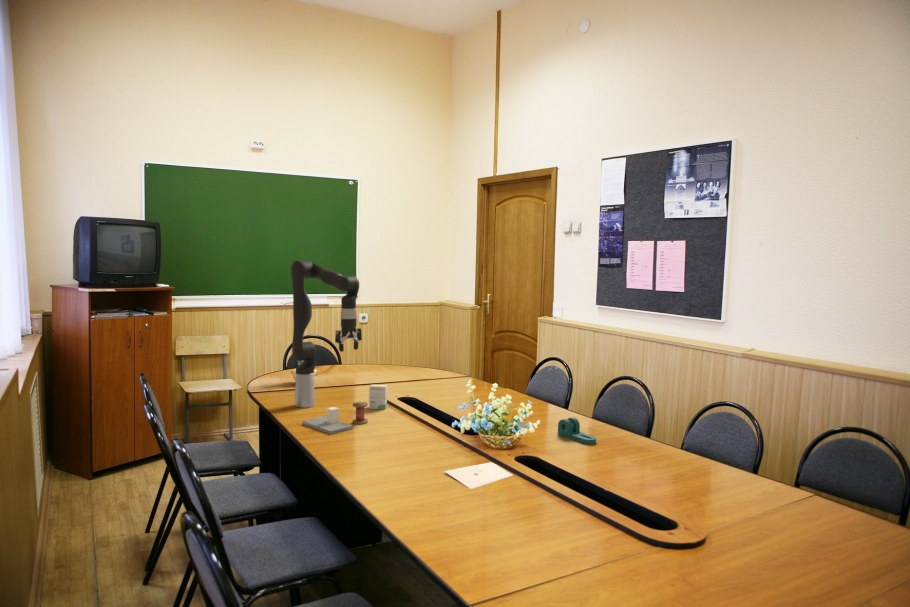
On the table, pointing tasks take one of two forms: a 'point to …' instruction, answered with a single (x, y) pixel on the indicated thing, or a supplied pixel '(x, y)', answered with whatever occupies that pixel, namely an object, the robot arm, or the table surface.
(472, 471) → the paper sheet
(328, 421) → the block
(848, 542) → the table surface
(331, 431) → the notched board
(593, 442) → the bracket
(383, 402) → the ink box
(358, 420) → the spool
